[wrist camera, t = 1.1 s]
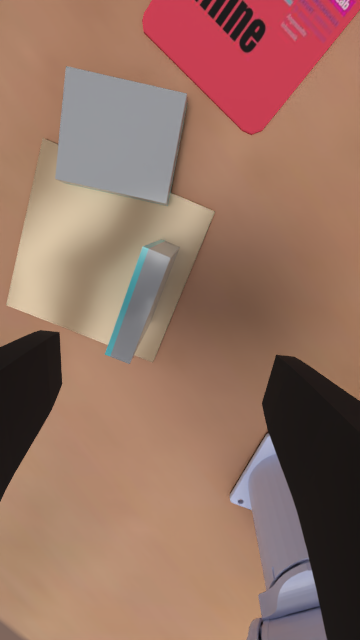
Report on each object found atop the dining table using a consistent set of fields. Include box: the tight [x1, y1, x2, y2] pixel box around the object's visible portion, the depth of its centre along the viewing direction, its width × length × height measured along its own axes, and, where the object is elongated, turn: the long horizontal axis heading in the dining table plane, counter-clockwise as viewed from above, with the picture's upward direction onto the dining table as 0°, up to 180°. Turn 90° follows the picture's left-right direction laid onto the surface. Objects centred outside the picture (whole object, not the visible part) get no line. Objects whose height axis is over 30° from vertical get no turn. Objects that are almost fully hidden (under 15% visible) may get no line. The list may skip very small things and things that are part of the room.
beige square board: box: [6, 138, 215, 362], centre depth 22 cm, size 12×12×1 cm
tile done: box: [55, 66, 187, 206], centre depth 18 cm, size 7×6×1 cm
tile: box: [105, 239, 180, 364], centre depth 18 cm, size 1×6×7 cm, turn 158°
